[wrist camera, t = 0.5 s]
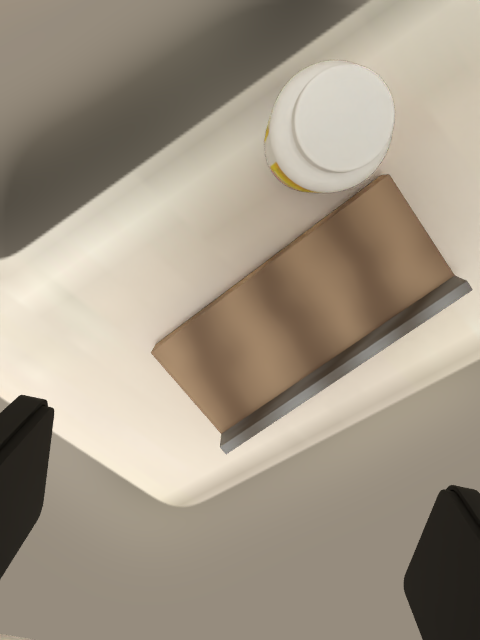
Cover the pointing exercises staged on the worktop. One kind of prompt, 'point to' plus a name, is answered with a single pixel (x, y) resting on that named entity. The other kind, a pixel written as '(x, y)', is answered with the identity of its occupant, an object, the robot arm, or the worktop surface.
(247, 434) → the shelf
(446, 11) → the worktop surface
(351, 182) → the supplement bottle
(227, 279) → the worktop surface
